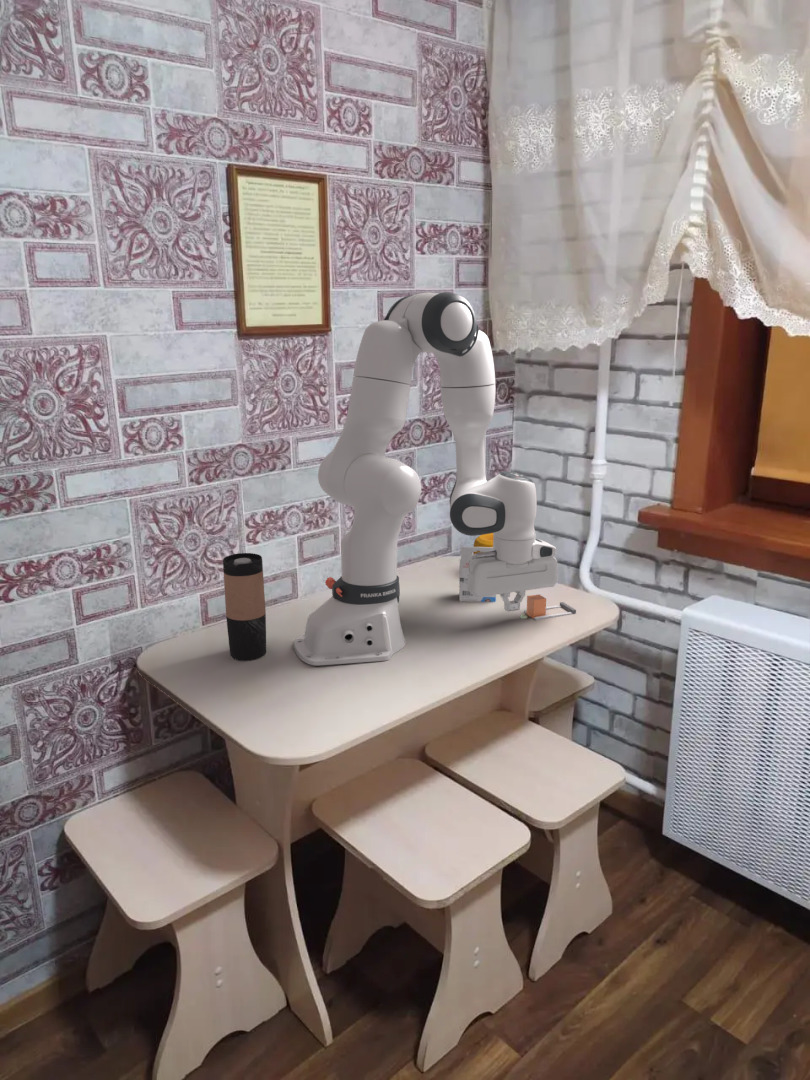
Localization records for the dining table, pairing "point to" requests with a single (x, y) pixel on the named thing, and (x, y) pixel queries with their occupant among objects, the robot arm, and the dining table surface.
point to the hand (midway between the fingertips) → (512, 610)
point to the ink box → (464, 572)
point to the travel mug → (245, 606)
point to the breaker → (536, 606)
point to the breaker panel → (562, 604)
